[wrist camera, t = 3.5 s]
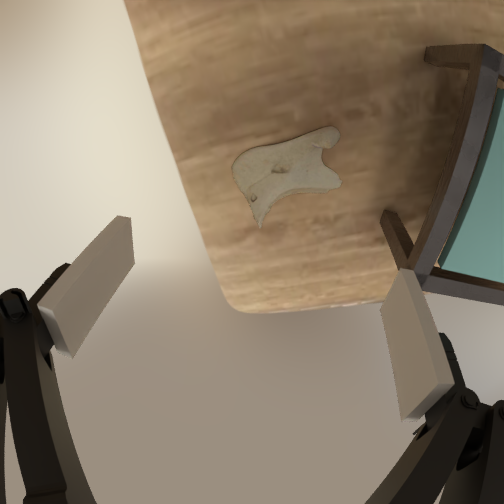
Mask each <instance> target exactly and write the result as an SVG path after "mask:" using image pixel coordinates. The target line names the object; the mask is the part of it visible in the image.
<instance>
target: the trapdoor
mask: <svg viewBox="0 0 504 504" xmlns="http://www.w3.org/2000/svg"><path fill="white" fill-rule="evenodd" d="M438 263H439V265H440V267H441V269H445V270H449V271H454V272H458V273H463V274H467V275H471V276H476V277H480V278H484V279H489V280H493V281H497V282H501V283H504V89H500V88H498V89H497V93H496V98H495V102H494V107H493V111H492V115H491V119H490V123H489V126H488V130H487V134H486V137H485V140H484V144H483V147H482V150H481V154H480V157H479V160H478V163H477V166H476V169H475V172H474V175H473V178H472V180H471V183H470V186H469V189H468V191H467V194H466V197H465V199H464V202H463V204H462V207H461V209H460V212H459V214H458V217H457V219H456V221H455V224H454V226H453V228H452V231H451V233H450V235H449V237H448V240H447V242H446V244H445V246H444V248H443V250H442V252H441V255H440V257H439V259H438Z"/></svg>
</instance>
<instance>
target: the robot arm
mask: <svg viewBox="0 0 504 504" xmlns="http://www.w3.org/2000/svg"><path fill="white" fill-rule="evenodd" d="M134 264H135V262H134V252H133V240H132V227H131V218H128V217H123V216H117V217H116V218H114V220H113V221H112V222H110V223H109V225H107V226H106V228H105V229H104V230H103V231H102V232H101V233H100V234H99V235H98V236H97V237H96V238H95V239H94V240H93V241H92V242H91V243H90V244H89V245H88V247H86V248H85V250H84V251H83V252H82V253H81V254H80V255H79V256H78V257H77V258H76V259H75V261H74V262H73V263H72V264H68V263H65V264H63V265H62V266H60V267H58V268H57V269H56V270H55V271H54V272H53V273H52V274H51V276H50V277H49V278H48V279H47V280H46V281H45V282H44V284H42V286H41V287H40V288H39V289H38V290H37V291H36V293H35V294H34V295H33V296H32V297H31V298H30V300H29V301H28V300H27V298H26V295H25V293H24V291H22V290H21V289H18V288H12V289H9V290H7V291H5V292H3V293H2V294H1V295H0V504H6V496H5V477H4V475H5V474H4V443H5V423H6V410H7V400H8V408H9V415H10V422H11V428H12V433H13V439H14V444H15V449H16V453H17V458H18V462H19V466H20V470H21V474H22V477H23V481H24V485H25V488H26V496H25V497H24V499H23V504H97V503H96V501H95V499H94V497H93V495H92V492H91V490H90V487H89V485H88V483H87V480H86V477H85V475H84V472H83V469H82V467H81V464H80V461H79V458H78V455H77V453H76V450H75V446H74V443H73V440H72V437H71V434H70V430H69V427H68V423H67V420H66V416H65V413H64V409H63V405H62V401H61V396H60V392H59V388H58V383H57V378H56V374H55V368H54V363H53V358H52V354H51V352H50V349H51V348H52V346H53V345H55V347H56V349H57V351H58V353H59V354H62V355H64V356H67V357H69V358H72V359H73V358H74V356H75V354H76V353H77V351H78V349H79V348H80V346H81V345H82V343H83V341H84V339H85V338H86V336H87V335H88V333H89V331H90V330H91V328H92V327H93V325H94V324H95V322H96V320H97V319H98V317H99V316H100V314H101V313H102V311H103V309H104V308H105V307H106V305H107V303H108V302H109V301H110V299H111V298H112V296H113V295H114V293H115V292H116V290H117V288H118V287H119V285H120V284H121V283H122V281H123V280H124V278H125V277H126V275H127V274H128V272H129V271H130V270H131V268H132V267H133V265H134ZM380 312H381V316H382V320H383V324H384V329H385V333H386V338H387V342H388V347H389V352H390V357H391V363H392V367H393V373H394V379H395V385H396V390H397V397H398V403H399V409H400V416H401V422H413V421H418V420H419V419H420V418H421V417H422V416H423V415H424V414H425V418H426V422H425V423H424V424H423V425H421V426H420V427H419V428H418V429H417V430H416V431H415V432H414V433H413V435H415V434H416V433H417V434H416V436H415V437H414V439H413V440H412V442H411V443H410V445H409V446H408V448H407V449H406V451H405V452H404V453H403V455H402V456H401V458H400V459H399V461H398V462H397V463H396V465H395V466H394V467H393V469H392V470H391V471H390V473H389V474H388V475H387V477H386V478H385V479H384V481H383V482H382V483H381V484H380V486H379V487H378V488H377V489H376V491H375V492H374V493H373V494H372V496H371V497H370V498H369V499H368V500H367V501H366V503H365V504H433V503H434V502H435V500H436V499H437V497H438V495H439V494H440V492H441V490H442V488H443V486H444V485H445V487H444V490H443V493H442V496H441V499H440V502H439V504H504V400H499V401H497V402H496V403H495V404H494V405H493V406H489V405H487V404H483V403H481V402H480V401H479V398H478V396H477V395H476V394H475V392H473V391H472V390H470V389H469V388H466V386H465V382H464V379H463V376H462V373H461V370H460V367H459V364H458V361H457V358H456V355H455V353H454V349H453V347H452V344H451V342H450V340H449V339H448V338H447V336H446V335H445V334H444V333H438V331H437V328H436V326H435V322H434V320H433V317H432V314H431V312H430V309H429V307H428V304H427V302H426V299H425V297H424V294H423V292H422V289H421V287H420V285H419V282H418V280H417V278H416V275H415V273H414V271H413V270H408V269H403V268H400V270H399V272H398V274H397V276H396V278H395V280H394V282H393V284H392V287H391V289H390V291H389V293H388V295H387V297H386V299H385V301H384V303H383V305H382V307H381V309H380ZM445 483H446V484H445Z"/></svg>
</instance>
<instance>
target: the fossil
mask: <svg viewBox="0 0 504 504" xmlns="http://www.w3.org/2000/svg"><path fill="white" fill-rule="evenodd" d="M339 139H340V132H339V131H338V130H337V129H336V128H335V127H332V126H329V127H324V128H321V129H319V130H316V131H313V132H309V133H307V134H305V135H302V136H300V137H298V138H295V139H292V140H290V141H286V142H283V143H279V144H275V145H269V146H260V147H255V148H252V149H250V150H248V151H246V152H244V153H242V154H241V155H240V156H239V157H238V158H237V159H236V160H235V162H234V164H233V166H232V171H233V176H234V179H235V182H236V184H237V185H238V187H239V189H240V190H241V192H242V193H243V194H244V195H245V197H246V199H247V200H248V202H249V206H250V208H251V210H252V212H253V214H254V219H255V220H256V222H257V224H258V225H259V227H260V228H261V227H262V221H263V219H264V217H265V215H266V214H267V213H268V212H269V211H270V209H271V207H272V205H273V203H275V202H276V201H277V200H279V199H281V198H283V197H285V196H288V195H291V194H296V193H328V191H329V190H332V189H336V188H339V187H340V186H341V183H342V181H341V180H340V179H339V176H338V174H337V173H336V172H334V171H333V170H332V169H330V168H328V167H326V166H325V165H324V164H323V162H322V159H321V156H322V150H323V148H326V149H330V148H332V147H333V146H334V145H335V144H336V143H337V142H338V141H339Z"/></svg>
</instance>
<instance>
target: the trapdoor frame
mask: <svg viewBox="0 0 504 504" xmlns="http://www.w3.org/2000/svg"><path fill="white" fill-rule="evenodd" d="M424 61H425V62H428V63H430V64H432V65H435V66H437V67H448V68H459V69H468V70H469V74H468V79H467V84H466V88H465V93H464V97H463V102H462V106H461V110H460V114H459V118H458V121H457V125H456V129H455V133H454V136H453V140H452V143H451V146H450V150H449V153H448V156H447V159H446V162H445V166H444V169H443V172H442V175H441V178H440V181H439V183H438V186H437V189H436V192H435V195H434V197H433V200H432V203H431V205H430V208H429V211H428V213H427V216H426V218H425V221H424V223H423V226H422V228H421V231H420V233H419V235H418V238H417V240H416V243H415V245H414V244H413V242H412V240H411V238H410V236H409V234H408V232H407V230H406V229H405V227H404V225H403V223H402V221H401V219H400V218H399V216H398V214H397V213H395V212H391V211H387V210H384V212H383V214H382V217H381V220H380V225H381V227H382V229H383V232H384V234H385V237H386V239H387V242H388V244H389V247H390V249H391V252H392V254H393V257H394V259H395V262H396V265H397V267H398V270H400V268H403V269H408V270H413V271H414V273H415V275H416V278H417V280H418V282H419V285H420V287H421V289H422V291H426V292H431V293H437V294H443V295H448V296H453V297H459V298H464V299H470V300H475V301H481V302H486V303H492V304H497V305H503V306H504V283H501V282H497V281H493V280H489V279H484V278H480V277H476V276H471V275H467V274H463V273H458V272H454V271H449V270H445V269H441V268H439V267H435V266H434V264H435V262H436V260H437V258H438V256H439V254H440V252H441V249H442V247H443V245H444V243H445V241H446V239H447V236H448V234H449V232H450V230H451V227H452V225H453V223H454V220H455V218H456V215H457V213H458V210H459V208H460V206H461V203H462V200H463V198H464V195H465V193H466V190H467V187H468V184H469V182H470V179H471V176H472V173H473V170H474V167H475V164H476V161H477V158H478V155H479V152H480V149H481V145H482V142H483V139H484V135H485V132H486V128H487V124H488V121H489V117H490V113H491V109H492V104H493V100H494V96H495V91H496V86H497V81H498V78H499V79H500V80H502V81H504V55H503V54H501V53H500V52H498V51H496V50H495V49H493V48H491V47H490V46H488V45H486V44H458V45H442V46H430V47H426V52H425V58H424Z"/></svg>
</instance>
